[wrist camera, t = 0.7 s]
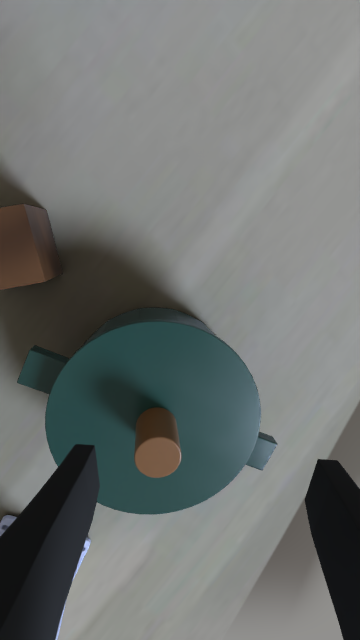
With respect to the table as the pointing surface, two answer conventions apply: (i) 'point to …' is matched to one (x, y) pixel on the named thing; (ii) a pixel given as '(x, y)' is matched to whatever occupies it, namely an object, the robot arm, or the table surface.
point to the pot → (48, 365)
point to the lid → (156, 414)
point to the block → (26, 247)
